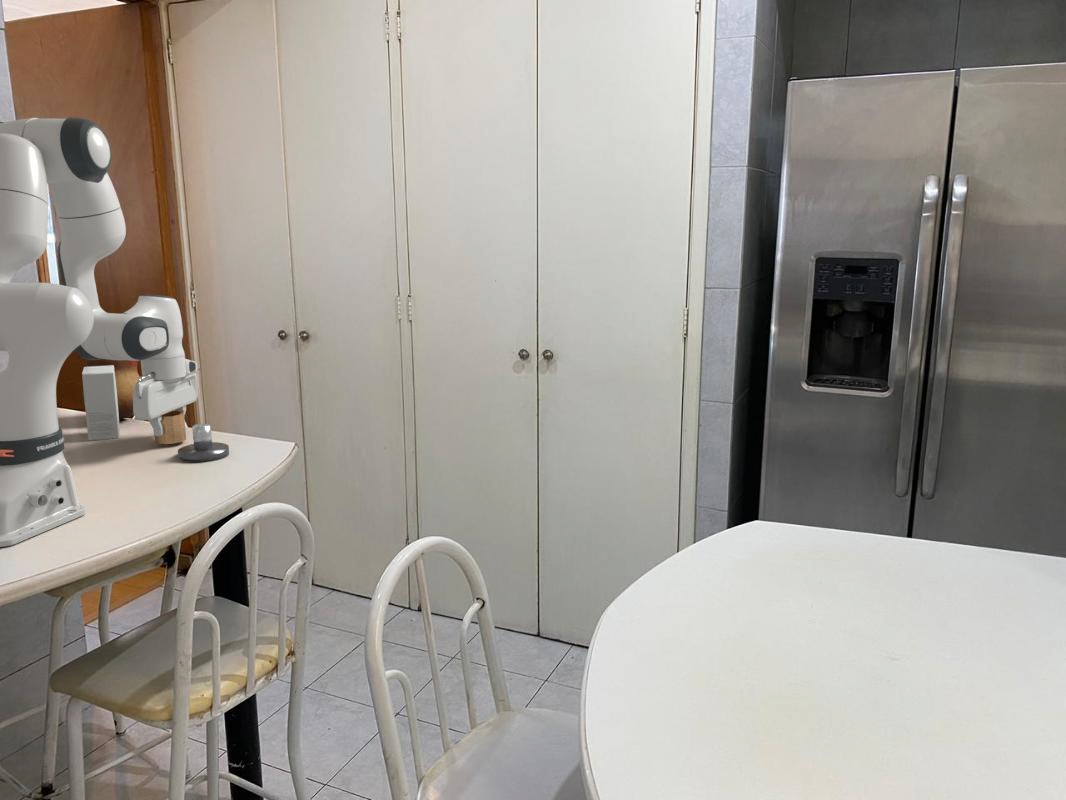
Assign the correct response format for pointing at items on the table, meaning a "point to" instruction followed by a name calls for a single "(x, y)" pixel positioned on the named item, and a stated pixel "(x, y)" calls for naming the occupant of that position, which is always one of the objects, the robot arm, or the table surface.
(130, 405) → the butternut squash
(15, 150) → the robot arm
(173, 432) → the sleeve
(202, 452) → the duct stub
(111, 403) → the skincare box
